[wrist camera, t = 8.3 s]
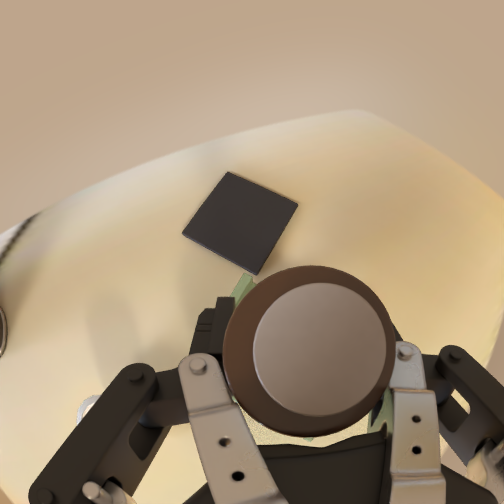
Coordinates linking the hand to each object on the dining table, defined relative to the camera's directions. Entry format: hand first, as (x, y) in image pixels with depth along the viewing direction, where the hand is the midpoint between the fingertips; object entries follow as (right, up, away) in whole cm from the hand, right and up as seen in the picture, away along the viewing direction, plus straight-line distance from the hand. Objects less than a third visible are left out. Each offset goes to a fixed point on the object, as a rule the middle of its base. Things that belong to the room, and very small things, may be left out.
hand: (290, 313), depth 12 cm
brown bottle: (0, -3, +3) cm, 5 cm away
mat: (-3, +6, +22) cm, 23 cm away
